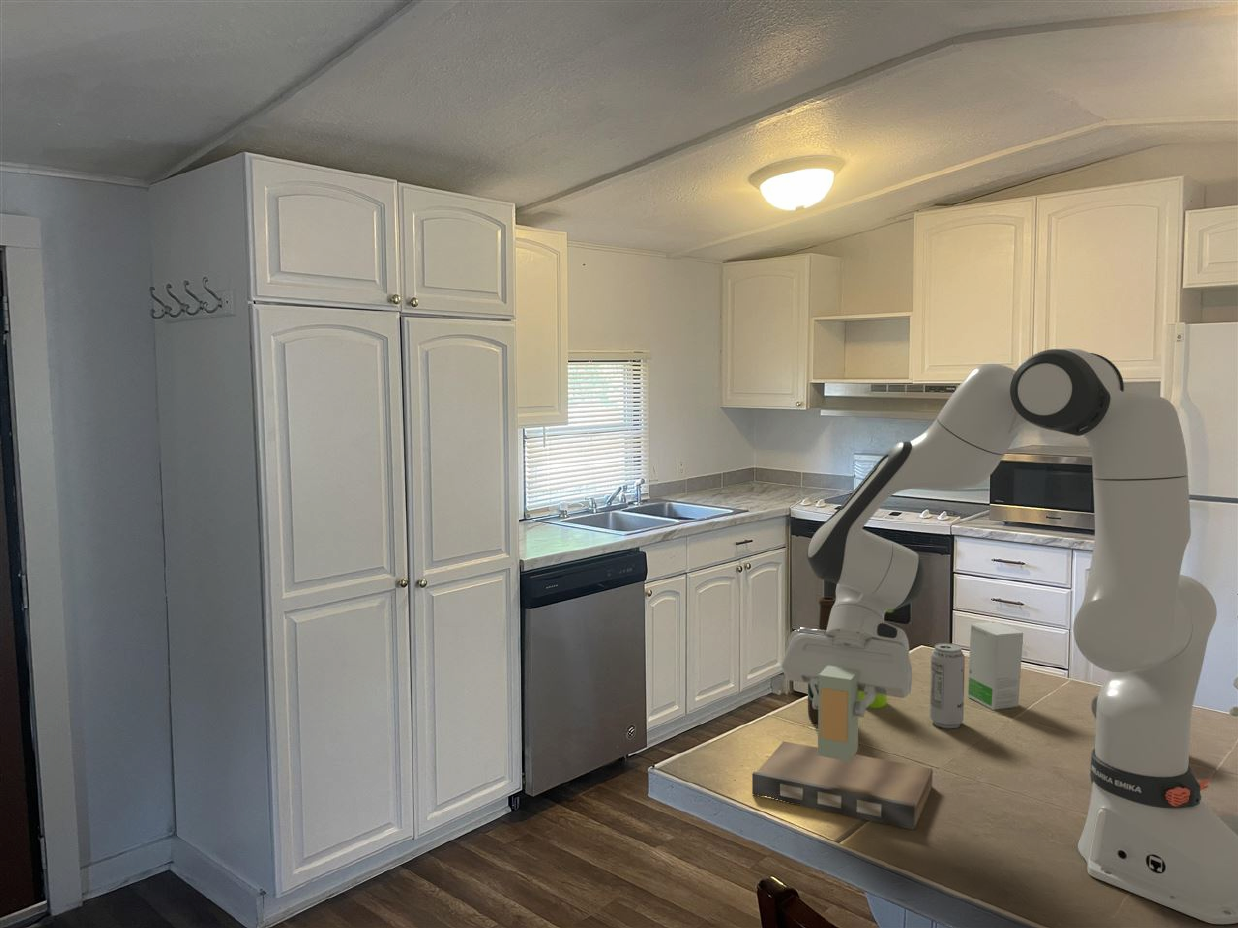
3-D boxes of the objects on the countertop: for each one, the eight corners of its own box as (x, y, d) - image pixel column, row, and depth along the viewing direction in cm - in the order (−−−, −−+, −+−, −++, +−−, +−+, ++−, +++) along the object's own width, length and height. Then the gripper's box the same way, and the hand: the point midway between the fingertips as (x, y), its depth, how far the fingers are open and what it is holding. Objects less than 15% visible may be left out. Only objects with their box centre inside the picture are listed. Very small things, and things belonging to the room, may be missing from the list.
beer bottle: (856, 723, 174) (858, 600, 172) (822, 729, 172) (823, 605, 169) (832, 709, 182) (833, 591, 179) (799, 715, 179) (800, 596, 176)
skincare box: (966, 696, 188) (968, 623, 186) (993, 693, 190) (995, 620, 188) (994, 711, 180) (996, 634, 178) (1021, 707, 182) (1024, 630, 180)
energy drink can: (966, 730, 170) (968, 652, 169) (932, 728, 171) (934, 651, 170) (959, 718, 176) (961, 642, 175) (927, 716, 177) (928, 641, 176)
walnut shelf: (932, 786, 148) (932, 765, 147) (913, 830, 134) (913, 807, 133) (783, 757, 160) (783, 737, 159) (751, 795, 145) (751, 774, 145)
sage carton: (857, 749, 144) (859, 669, 143) (849, 761, 140) (850, 679, 138) (826, 743, 147) (827, 665, 145) (817, 755, 142) (818, 675, 141)
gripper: (788, 616, 152) (769, 691, 145) (914, 632, 143) (901, 713, 135) (796, 635, 157) (777, 709, 149) (919, 651, 147) (906, 731, 140)
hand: (837, 711), depth 142 cm, fingers closed on sage carton, 5 cm apart
